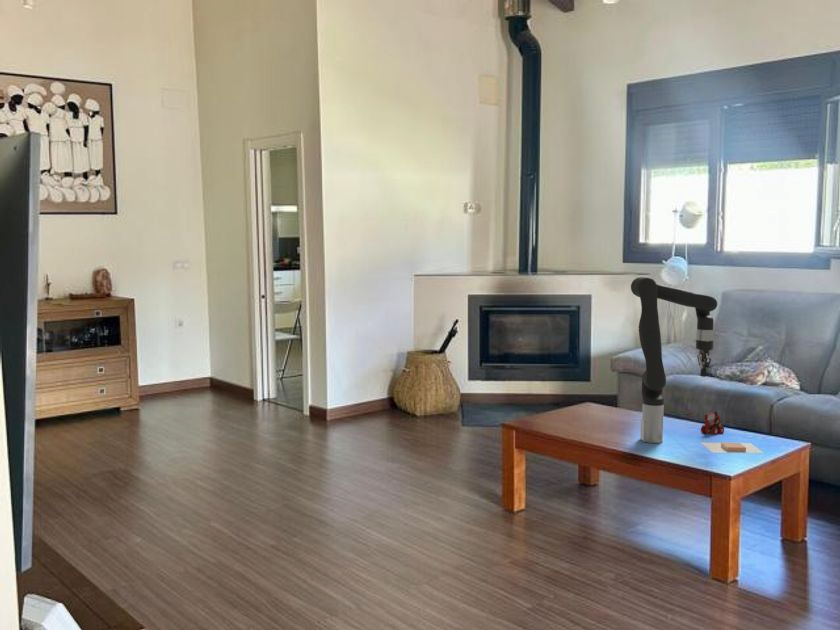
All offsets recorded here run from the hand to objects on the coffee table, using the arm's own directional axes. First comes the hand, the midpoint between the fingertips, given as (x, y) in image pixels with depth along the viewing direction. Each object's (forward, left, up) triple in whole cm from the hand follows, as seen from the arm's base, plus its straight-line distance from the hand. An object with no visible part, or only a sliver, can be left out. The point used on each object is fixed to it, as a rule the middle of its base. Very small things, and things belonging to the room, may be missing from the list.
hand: (703, 376), depth 362 cm
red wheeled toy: (+8, +8, -29) cm, 31 cm away
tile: (+7, -18, -27) cm, 33 cm away
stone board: (+7, -20, -29) cm, 36 cm away
